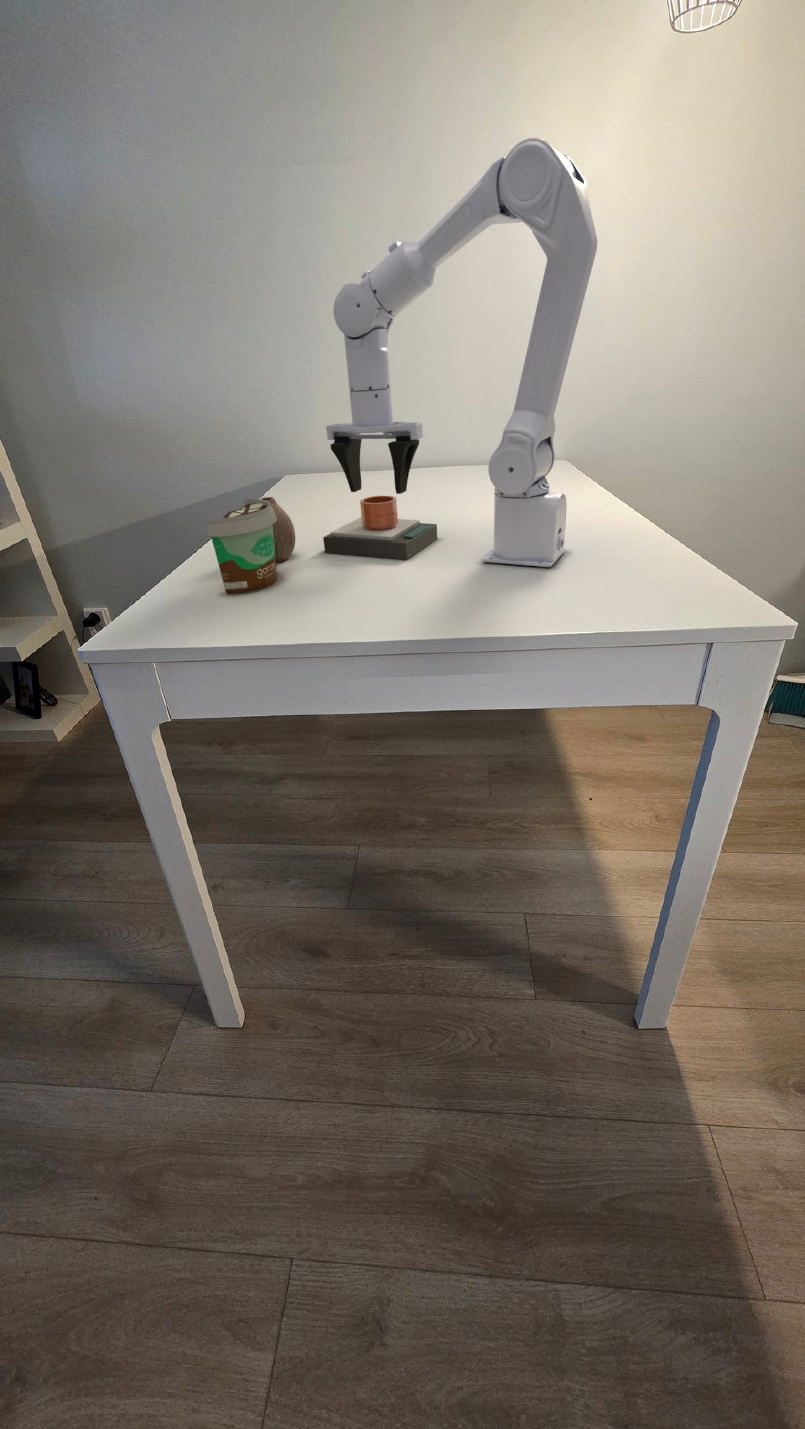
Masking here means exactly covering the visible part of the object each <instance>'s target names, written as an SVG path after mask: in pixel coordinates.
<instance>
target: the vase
mask: <svg viewBox="0 0 805 1429" xmlns="http://www.w3.org/2000/svg"><path fill="white" fill-rule="evenodd" d="M259 499H262V500H266V501H268V502H269V503H270V506H272V507H273V510H274V512H275V515H276V518H277V521H276V522H275V523H274V524H272V525H273V537H274V548H275V559H276V563H278V562H282V561H286V560H287V559H289V557H291V555H292V554H293V552H294V550H295V546H296V531H295V526H294V524H293V521H292V519H291V517H290V516H289V514H288V513H287V512H286V511H285V510H284V509H283V507H281V506H280V505H279V504H278V501H277V500H276V498H274V497H273V496H264V497H260V498H259Z"/></svg>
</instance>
